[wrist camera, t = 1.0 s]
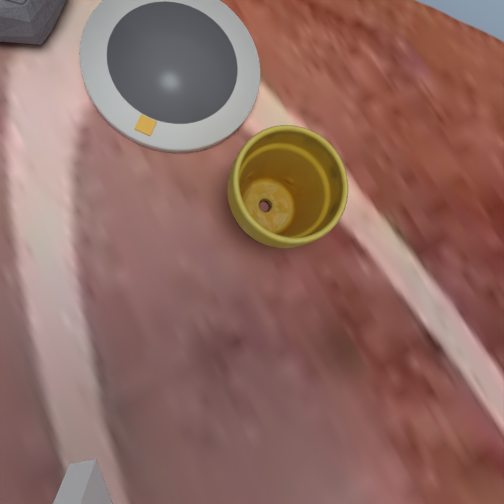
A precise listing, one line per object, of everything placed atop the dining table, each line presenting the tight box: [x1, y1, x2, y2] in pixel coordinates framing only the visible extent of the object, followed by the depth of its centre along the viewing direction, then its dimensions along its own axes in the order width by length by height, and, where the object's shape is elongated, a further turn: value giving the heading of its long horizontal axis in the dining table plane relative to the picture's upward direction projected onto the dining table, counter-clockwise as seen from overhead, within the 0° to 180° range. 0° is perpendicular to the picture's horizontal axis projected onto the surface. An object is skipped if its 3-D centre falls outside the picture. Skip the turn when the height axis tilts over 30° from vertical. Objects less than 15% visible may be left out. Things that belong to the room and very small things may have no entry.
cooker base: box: [79, 0, 260, 153], centre depth 45 cm, size 18×18×2 cm
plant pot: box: [227, 125, 348, 248], centre depth 41 cm, size 10×10×10 cm
